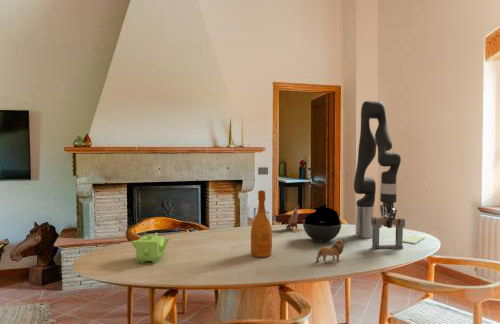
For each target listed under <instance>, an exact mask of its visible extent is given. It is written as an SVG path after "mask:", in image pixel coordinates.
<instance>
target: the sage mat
mask: <svg viewBox="0 0 500 324" xmlns="http://www.w3.org/2000/svg"><path fill="white" fill-rule="evenodd" d="M424 239H425V236H419V235H413V234H409V235H406V236H405V237H403V239H402V243H404V244H409V245H410V244H412V245H417V244H419V243H420V242H421V241H422V240H424Z"/></svg>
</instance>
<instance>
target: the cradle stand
mask: <svg viewBox="0 0 500 324" xmlns="http://www.w3.org/2000/svg"><path fill="white" fill-rule="evenodd" d="M372 218H378V217H377V216H374V217H371V225H372V226H373V237H372V238H371V239H372V241H371V242H372V245H371V249H373V250H387V249H388V250H389V249H390V250H392V249H395V250H396V249H398V250H399V249H404V246H403V242H402V239H403V238H404V237H403V235H404V234H403V230H404V229H403V228H405V227H406V219H405V218H403V219H399V225H395V244H380V229H381V228H382V225H381V219H376V225H373V224H372ZM395 218H401V217H400V216H395Z"/></svg>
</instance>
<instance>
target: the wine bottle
mask: <svg viewBox="0 0 500 324" xmlns="http://www.w3.org/2000/svg"><path fill="white" fill-rule="evenodd" d="M257 194H258V195H257V200H258V206H257V211H256V214H255V217H254V219H253V221H252V225H251V227H250V228H251V229H250V254H251V255H252V256H253V257H255V258H268V257H270V256H271V255H272V253H273V252H272V251H273V249H272V248H273V230H272V225H271V222H270V219H271V218H270V215H269V212H267V210H266V206H265V205H266V204H265V201H266V190H262V189H261V190H258V193H257Z"/></svg>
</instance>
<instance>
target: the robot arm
mask: <svg viewBox="0 0 500 324" xmlns="http://www.w3.org/2000/svg"><path fill="white" fill-rule="evenodd" d="M371 119H375V120H377V122H378V126H377V128H376V131H375V132H374V133H375V134H373V132H372V129H371V127H370V126H371V125H370V120H371ZM392 148H393V143H392V140H391V137H390V133H389V129H388V122H387V115H386V109H385V106H384V103H383V102H381V101H378V100H377V101H371V100H370V101H369V100H368V101H367V100H366V101H363V103H362V104H361V110H360V134H359V142H358V151H357V152H358V153H357V163H356V170H355V175H354V181H353V190H354V193H355V194H357V195H364V196H363V197H362V198H359V199H357V201H356V217H355V237H356V238H363V239H372V237H373V226H372V225H371V217H375V214H374V213H375V209H374V207H375V200H376V188H377V185H376V181H375V179H374V178H373V177H365V175H366V171H367V170H368V167H369V166H370V165H371V163H372V162H373V160H374V159H375V157H376V155H377V163H378V165H380V167H384V168H385V167H389V168H388V170H385V171H382V172H381V176H380V192H379V193H380V196H379V197H380V198H379V200H380V201H379V202H380V203H382V204H381V205H380V206H379V208H380V215H381V218H387V225H383V227H386V228H388V229H392V227H393V225H392V220H395V217H397V216H396V215H397V211H398V210H397V209H396V208H395V206H394V205H395V204H394V203H397V191H398V189H397V187H398V186H397V175H398V171H399V168H400V165H401V160H402V159H401V155H400V154H399V153H398V152H396V151H395V152H394V151H392V152H390V150H391V149H392ZM376 153H377V154H376Z"/></svg>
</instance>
